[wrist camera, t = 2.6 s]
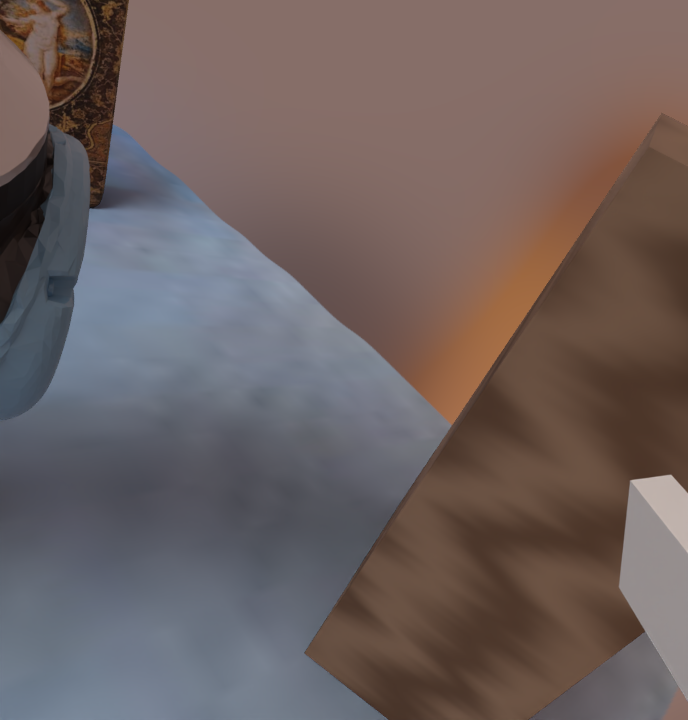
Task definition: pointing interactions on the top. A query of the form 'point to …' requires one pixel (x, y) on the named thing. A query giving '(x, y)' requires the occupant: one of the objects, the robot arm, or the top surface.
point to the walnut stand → (536, 481)
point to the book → (74, 67)
